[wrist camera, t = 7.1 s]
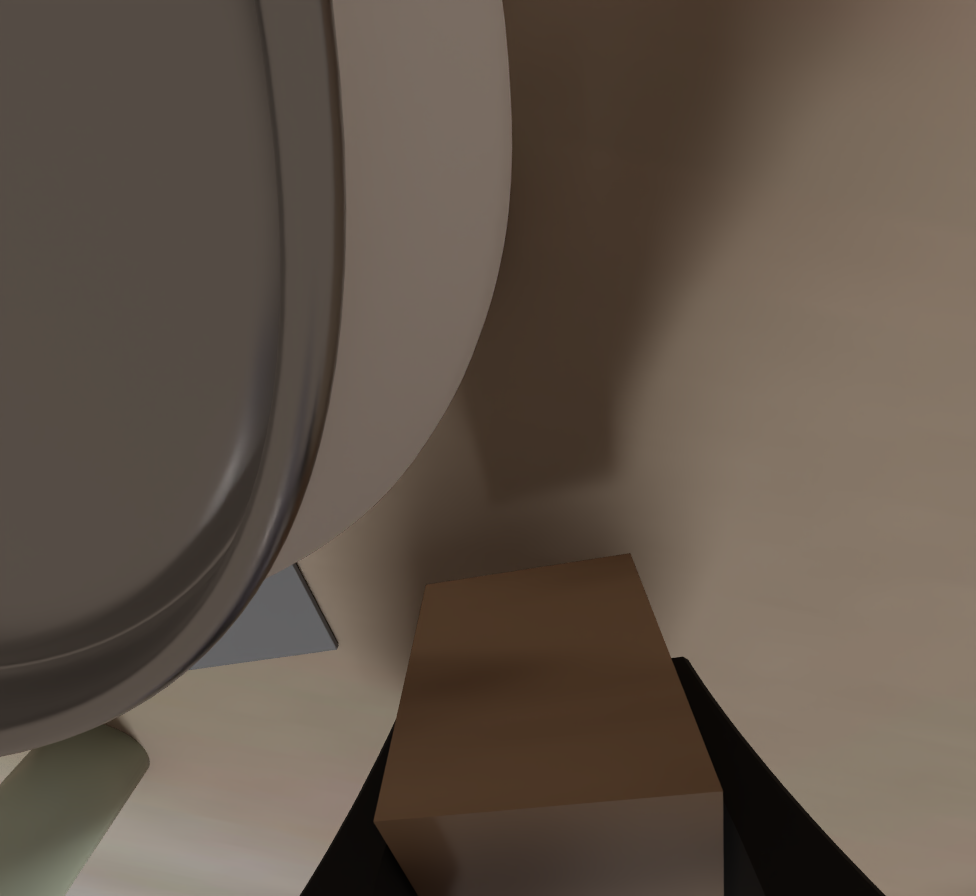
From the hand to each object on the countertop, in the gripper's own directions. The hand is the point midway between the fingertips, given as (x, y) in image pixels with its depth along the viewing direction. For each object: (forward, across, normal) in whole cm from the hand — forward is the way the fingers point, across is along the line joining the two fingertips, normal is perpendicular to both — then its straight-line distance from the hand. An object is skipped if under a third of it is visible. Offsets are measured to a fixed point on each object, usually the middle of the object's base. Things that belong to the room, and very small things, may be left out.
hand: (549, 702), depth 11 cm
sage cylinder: (+6, +24, +9) cm, 26 cm away
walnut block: (+2, 0, 0) cm, 2 cm away
